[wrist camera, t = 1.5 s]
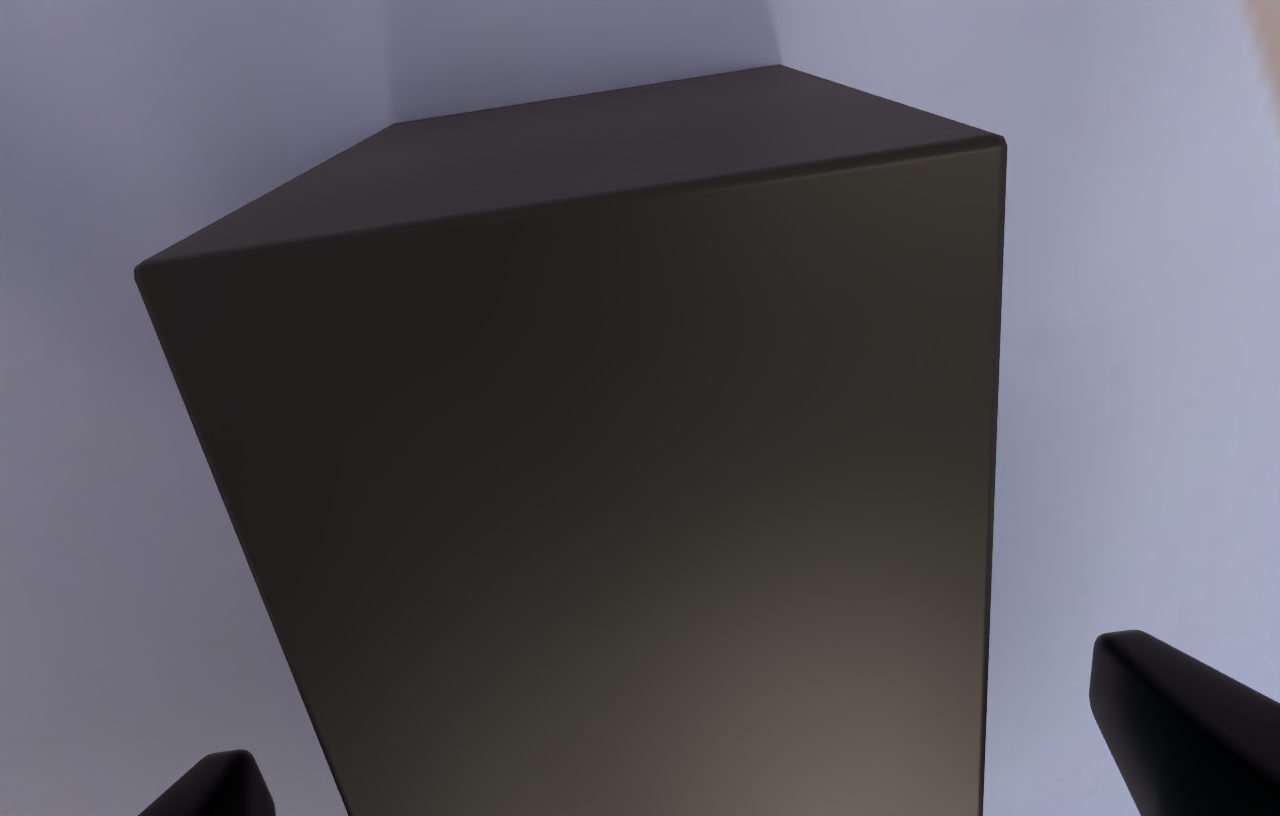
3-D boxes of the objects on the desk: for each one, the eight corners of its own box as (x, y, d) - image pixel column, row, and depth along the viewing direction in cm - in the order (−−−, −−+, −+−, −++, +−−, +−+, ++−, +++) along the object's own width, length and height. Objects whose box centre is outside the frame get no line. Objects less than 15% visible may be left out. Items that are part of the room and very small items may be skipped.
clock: (842, 814, 15) (982, 1286, 9) (572, 849, 15) (553, 1337, 9) (798, 61, 10) (1044, 129, 4) (390, 123, 10) (123, 265, 4)
